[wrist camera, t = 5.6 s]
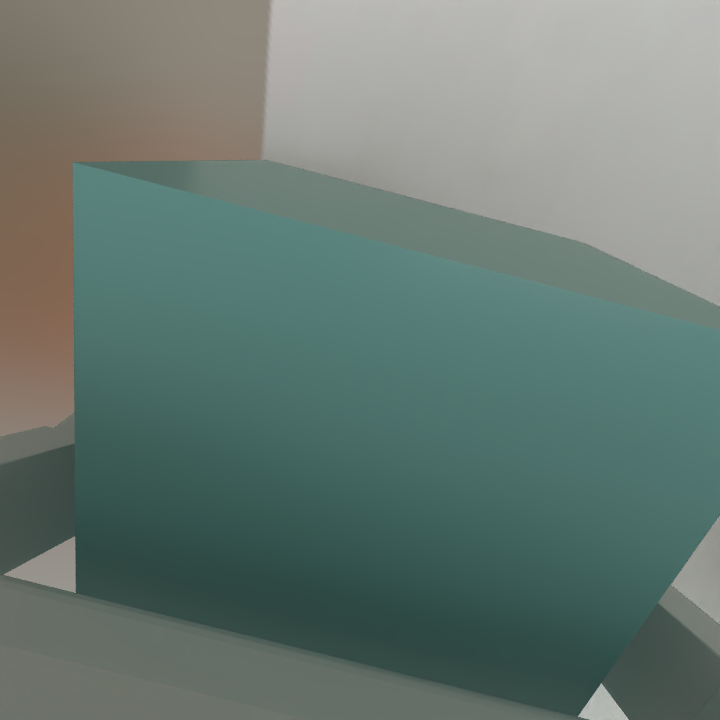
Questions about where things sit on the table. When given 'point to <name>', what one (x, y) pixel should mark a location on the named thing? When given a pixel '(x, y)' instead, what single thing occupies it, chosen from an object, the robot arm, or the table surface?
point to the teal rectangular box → (382, 425)
